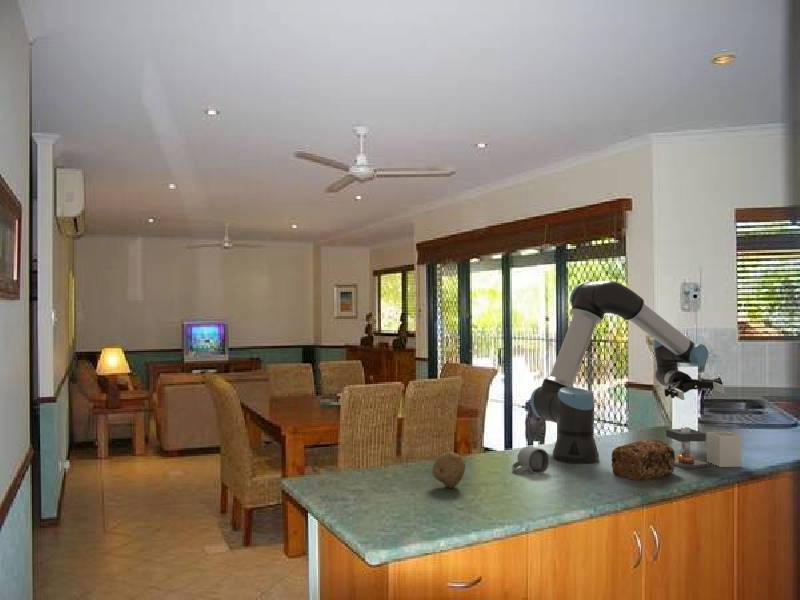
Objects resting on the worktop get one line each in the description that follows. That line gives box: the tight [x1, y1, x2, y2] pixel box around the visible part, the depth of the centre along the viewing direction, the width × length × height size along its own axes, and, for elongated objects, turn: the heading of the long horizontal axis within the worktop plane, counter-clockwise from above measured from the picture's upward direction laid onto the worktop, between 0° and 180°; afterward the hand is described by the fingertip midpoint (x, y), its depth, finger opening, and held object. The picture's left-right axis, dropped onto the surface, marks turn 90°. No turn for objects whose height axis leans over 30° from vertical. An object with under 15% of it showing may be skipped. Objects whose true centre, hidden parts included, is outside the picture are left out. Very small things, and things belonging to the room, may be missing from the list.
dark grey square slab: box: [665, 428, 707, 443], centre depth 222 cm, size 9×9×2 cm
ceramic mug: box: [511, 446, 550, 475], centre depth 210 cm, size 11×8×8 cm
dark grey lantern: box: [674, 426, 710, 470], centre depth 222 cm, size 10×10×12 cm
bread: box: [611, 438, 676, 482], centre depth 208 cm, size 19×11×10 cm, turn 125°
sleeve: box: [706, 431, 742, 468], centre depth 222 cm, size 7×7×10 cm
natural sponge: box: [432, 451, 466, 489], centre depth 190 cm, size 9×9×10 cm
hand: (702, 392), depth 230 cm, fingers open, 13 cm apart
